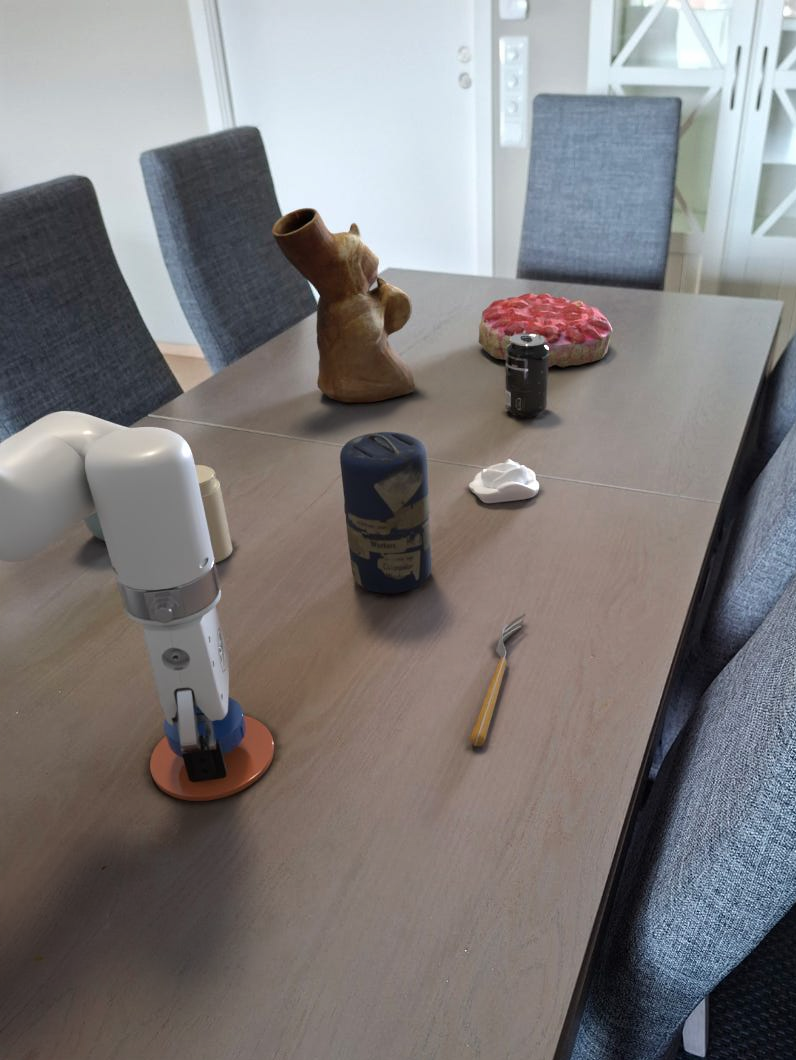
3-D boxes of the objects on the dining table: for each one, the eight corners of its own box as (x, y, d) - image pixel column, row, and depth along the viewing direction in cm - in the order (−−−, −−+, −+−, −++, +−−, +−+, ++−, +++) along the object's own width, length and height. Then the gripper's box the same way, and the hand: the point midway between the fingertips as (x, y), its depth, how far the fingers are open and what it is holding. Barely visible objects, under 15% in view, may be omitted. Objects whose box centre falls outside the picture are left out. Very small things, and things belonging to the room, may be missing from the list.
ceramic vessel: (432, 394, 155) (424, 204, 137) (316, 424, 145) (292, 223, 127) (386, 368, 165) (374, 189, 148) (276, 394, 155) (248, 205, 138)
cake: (471, 324, 182) (473, 284, 177) (592, 324, 185) (597, 285, 180) (485, 375, 163) (487, 331, 158) (620, 374, 166) (626, 332, 161)
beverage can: (537, 401, 152) (539, 330, 145) (552, 416, 146) (556, 343, 139) (499, 406, 150) (499, 334, 143) (513, 422, 145) (514, 347, 138)
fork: (489, 738, 82) (526, 611, 98) (470, 732, 82) (510, 606, 98) (483, 756, 84) (520, 628, 99) (464, 750, 84) (504, 623, 99)
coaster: (146, 810, 77) (144, 805, 77) (156, 726, 86) (155, 721, 86) (275, 790, 79) (274, 785, 79) (273, 710, 88) (272, 705, 88)
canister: (366, 607, 102) (351, 461, 92) (342, 567, 109) (326, 427, 99) (444, 588, 105) (439, 445, 95) (416, 550, 112) (408, 413, 102)
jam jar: (178, 568, 109) (159, 489, 103) (181, 542, 114) (163, 465, 108) (232, 562, 110) (216, 484, 104) (233, 536, 116) (218, 460, 109)
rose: (513, 484, 117) (453, 466, 122) (512, 515, 120) (454, 495, 124) (553, 457, 124) (495, 441, 128) (552, 486, 126) (495, 469, 131)
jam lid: (257, 713, 83) (254, 697, 82) (230, 764, 78) (226, 748, 77) (186, 706, 84) (182, 691, 83) (155, 756, 79) (150, 740, 78)
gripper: (215, 642, 65) (252, 812, 76) (220, 527, 79) (251, 684, 90) (107, 655, 64) (160, 826, 75) (131, 536, 78) (173, 694, 88)
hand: (209, 747), depth 82 cm, fingers closed on jam lid, 6 cm apart
